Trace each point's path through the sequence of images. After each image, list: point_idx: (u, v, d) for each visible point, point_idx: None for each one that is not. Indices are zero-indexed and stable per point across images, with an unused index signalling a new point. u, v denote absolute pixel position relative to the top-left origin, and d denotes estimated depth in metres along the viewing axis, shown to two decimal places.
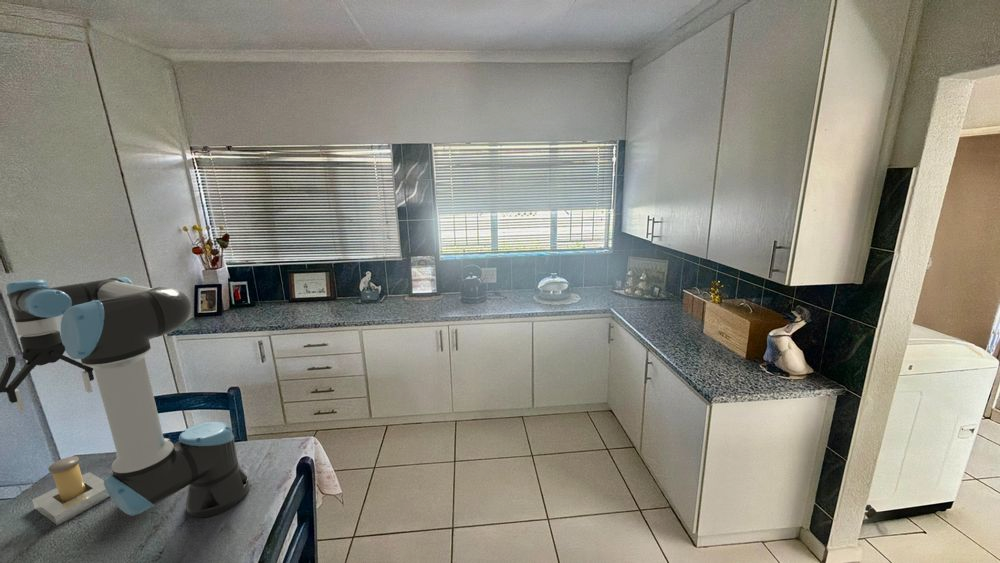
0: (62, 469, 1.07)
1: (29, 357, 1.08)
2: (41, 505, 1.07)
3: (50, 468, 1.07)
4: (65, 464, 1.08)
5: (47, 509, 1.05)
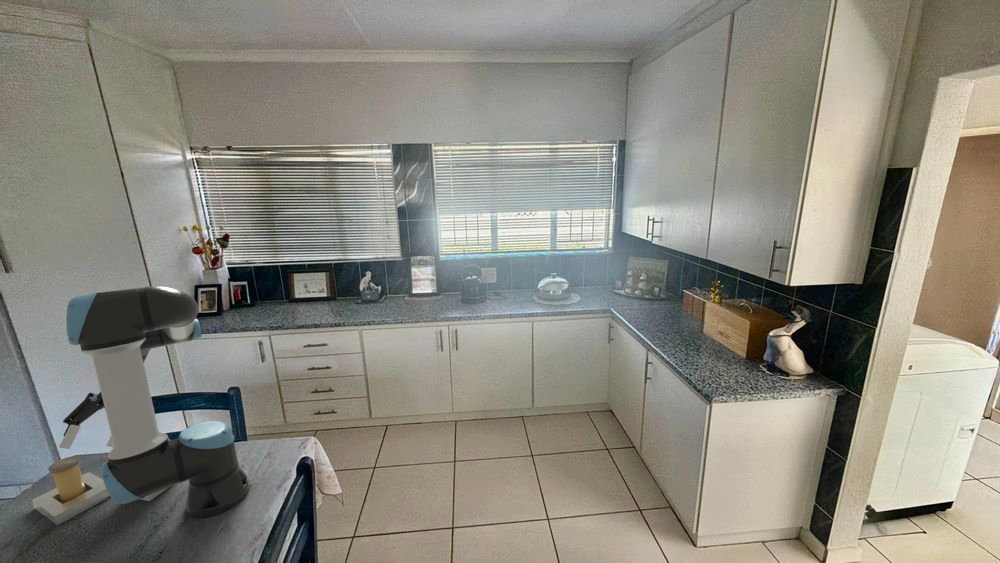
0: (62, 469, 1.07)
1: (98, 396, 1.23)
2: (41, 505, 1.07)
3: (50, 468, 1.07)
4: (65, 464, 1.08)
5: (47, 509, 1.05)
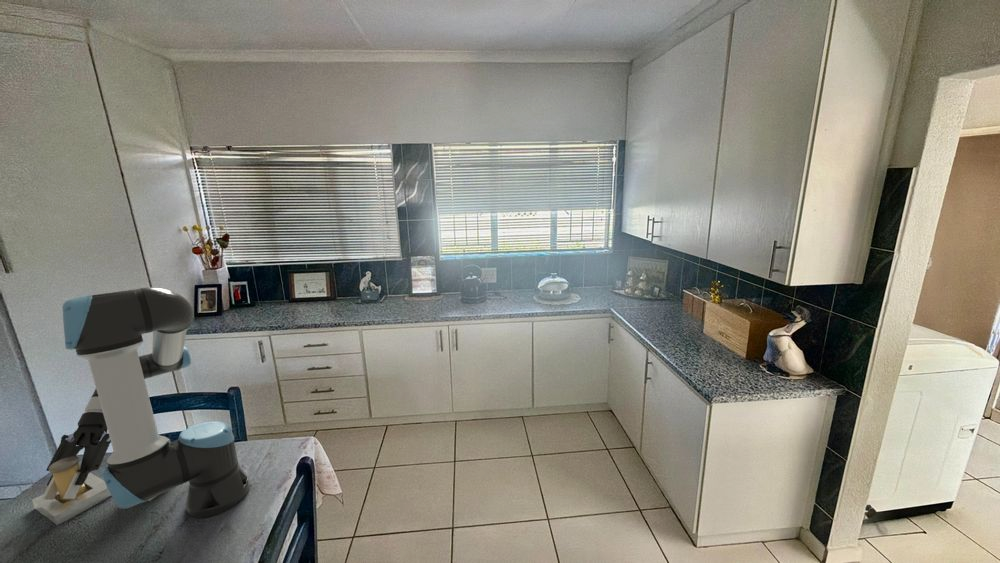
0: (62, 469, 1.07)
1: (76, 434, 1.15)
2: (41, 505, 1.07)
3: (50, 468, 1.07)
4: (65, 464, 1.08)
5: (47, 509, 1.05)
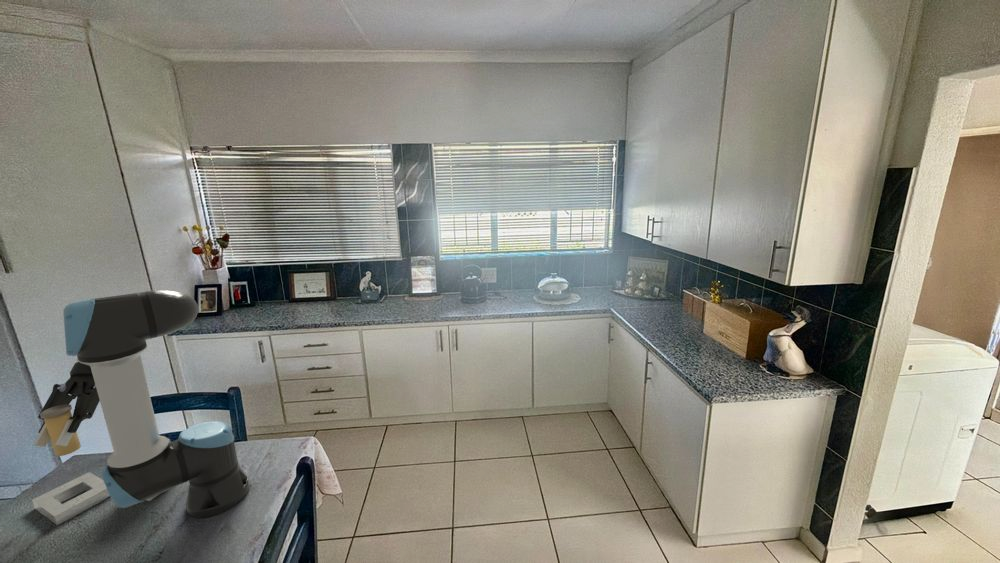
0: (54, 415, 1.05)
1: (68, 383, 1.13)
2: (41, 505, 1.07)
3: (42, 414, 1.05)
4: (57, 410, 1.06)
5: (47, 509, 1.05)
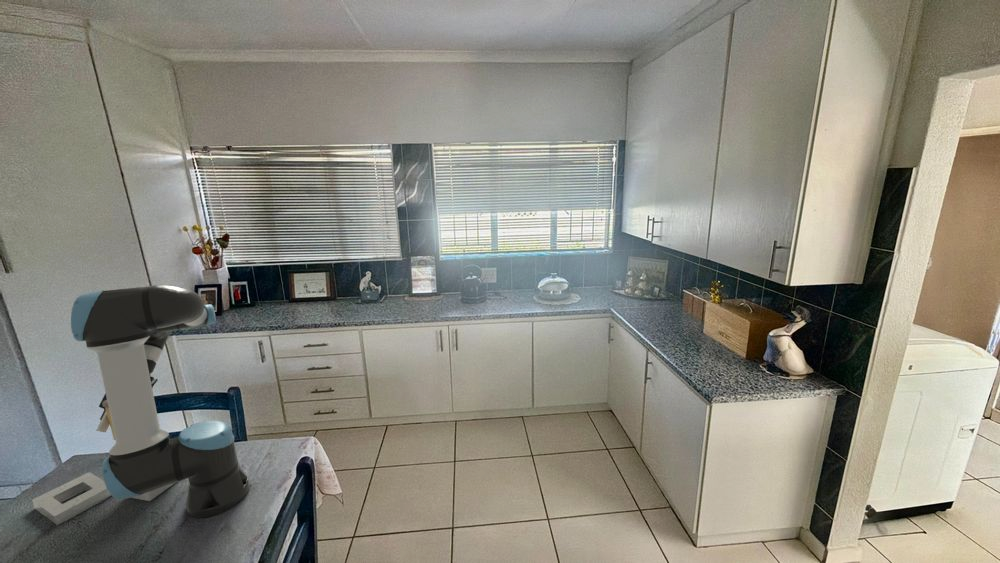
0: None
1: None
2: (41, 505, 1.07)
3: (104, 403, 1.20)
4: None
5: (47, 509, 1.05)
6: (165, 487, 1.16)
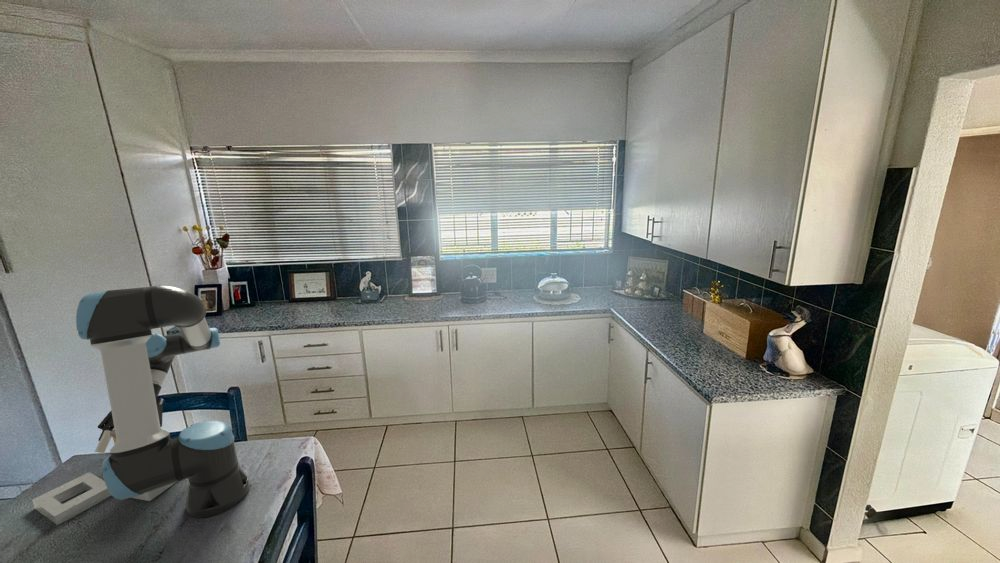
0: None
1: None
2: (41, 505, 1.07)
3: (111, 433, 1.22)
4: None
5: (47, 509, 1.05)
6: (165, 487, 1.16)
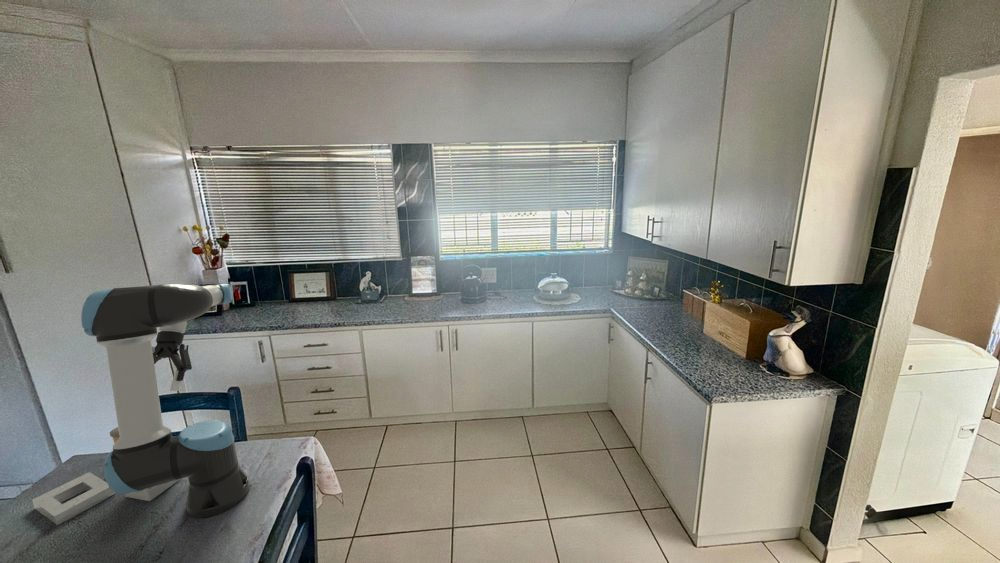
0: None
1: (156, 349, 1.38)
2: (41, 505, 1.07)
3: (111, 433, 1.22)
4: None
5: (47, 509, 1.05)
6: (165, 487, 1.16)
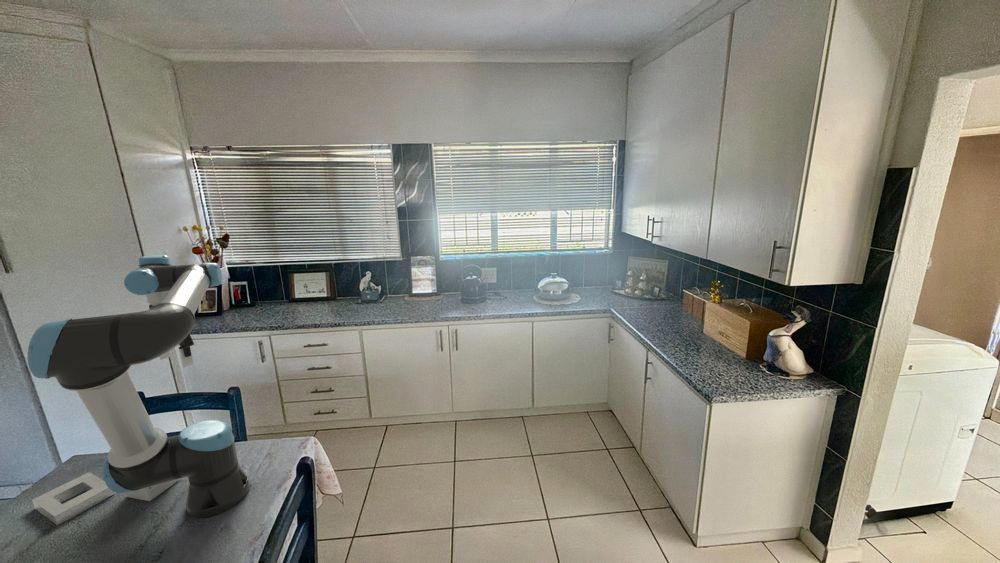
0: None
1: None
2: (41, 505, 1.07)
3: None
4: None
5: (47, 509, 1.05)
6: (165, 487, 1.16)
